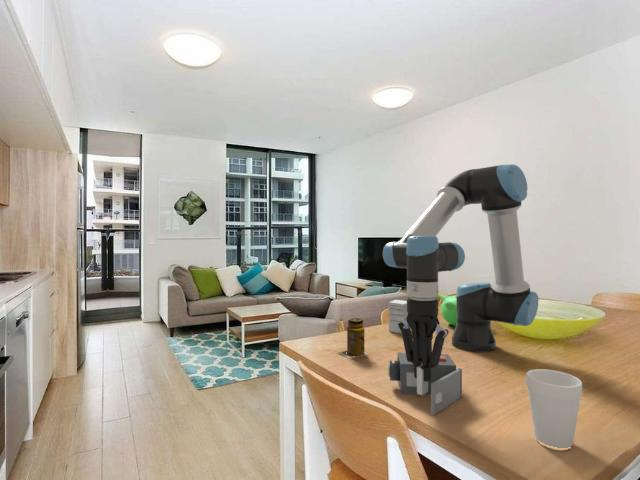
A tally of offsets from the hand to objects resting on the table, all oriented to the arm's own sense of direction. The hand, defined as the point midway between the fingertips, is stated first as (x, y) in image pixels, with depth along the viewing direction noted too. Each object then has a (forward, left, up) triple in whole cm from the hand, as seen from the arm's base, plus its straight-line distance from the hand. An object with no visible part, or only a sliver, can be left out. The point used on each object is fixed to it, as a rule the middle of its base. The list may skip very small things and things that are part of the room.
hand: (422, 392), depth 92 cm
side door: (-6, +1, -2) cm, 6 cm away
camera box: (-1, -9, -3) cm, 9 cm away
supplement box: (-1, -68, -3) cm, 68 cm away
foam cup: (-23, +15, -3) cm, 28 cm away
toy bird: (-28, -79, -3) cm, 84 cm away
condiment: (+18, -36, -3) cm, 40 cm away
